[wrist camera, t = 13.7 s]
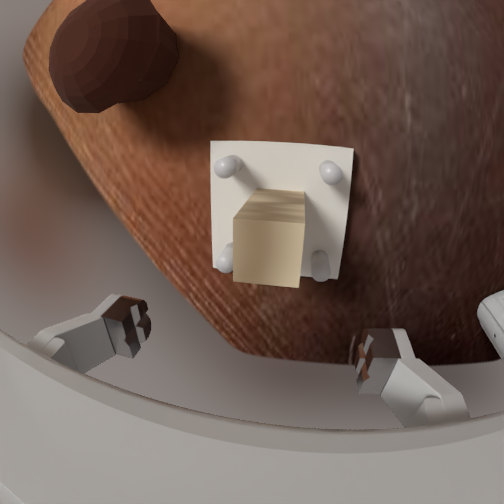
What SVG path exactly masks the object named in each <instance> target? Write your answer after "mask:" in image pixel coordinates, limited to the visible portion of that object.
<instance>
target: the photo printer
mask: <svg viewBox="0 0 504 504" xmlns="http://www.w3.org/2000/svg"><path fill="white" fill-rule="evenodd" d="M477 317H478V319H479V320H480V324H481V326H482V328H483V330H484V331H485V333H486V334H487V336H488V337H489V339H490V341H491V342H492V344H493V345H494V347H495V349H496V350H497V352H498V354H499V356H500V357H501V359H502V361H503V362H504V290H502V291H500V292H497V293H495V294H493V295H491V296H489V297H487V298H485V299H484V300H483V301H482V302H481V303H480V305H479V307H478V310H477Z"/></svg>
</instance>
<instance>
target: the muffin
mask: <svg viewBox="0 0 504 504" xmlns="http://www.w3.org/2000/svg"><path fill="white" fill-rule="evenodd" d="M178 59H179V55H178V51H177V47H176V34H175V33H174V32H173V30H172V29H171V28H170V26H169V25H168V24H167V23H166V21H165V20H164V19H163V18H162V17H161V15H160V14H159V13H158V12H157V10H156V9H155V7H154V6H153V4H152V3H151V1H150V0H86V1H85V2H84V3H82V4H81V5H79V6H78V7H77V8H75V9H74V10H73V11H71V12H70V13H69V15H68V16H67V17H66V19H65V20H64V21H63V23H62V24H61V25H60V27H59V28H58V30H57V31H56V34H55V36H54V39H53V42H52V45H51V47H50V55H49V73H50V76H51V78H52V81H53V84H54V87H55V89H56V91H57V93H58V94H59V96H60V98H61V100H62V101H63V102H64V103H66V104H67V105H68V106H70V107H71V108H72V109H73V110H75V111H76V112H77V113H100V112H102V111H104V110H106V109H107V108H109V107H111V106H113V105H115V104H117V103H123V102H130V101H137V100H144V99H146V98H147V97H148V96H149V95H150V94H151V93H153V92H154V91H155V90H157V89H158V88H160V87H162V86H163V85H165V84H167V82H168V79H169V77H170V74H171V72H172V69H173V68H174V66H175V64H176V63H177V61H178Z"/></svg>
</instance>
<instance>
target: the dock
mask: <svg viewBox="0 0 504 504" xmlns="http://www.w3.org/2000/svg"><path fill="white" fill-rule="evenodd" d="M353 150H354V149H352V148H345V147H336V146H327V145H316V144H303V143H288V142H268V141H211V218H212V250H213V268H218V270H219V271H221V272H223V273H229V272H231V271H232V270H233V218H234V216H235V215H236V214H237V213H238V211H239V210H240V209H241V207H242V206H243V205H244V204H245V202H246V201H247V200H248V199H249V197H250V196H251V195H252V194H253V192H254V191H255V190H256V189H257V188H261V189H277V190H290V191H303V192H304V204H305V231H304V242H303V252H302V262H301V271H300V276H306V277H313V279H314V280H316V281H318V282H324V281H326V280H328V279H329V278H330V279H338V275H339V269H340V263H341V256H342V250H343V243H344V236H345V229H346V221H347V213H348V204H349V195H350V186H351V175H352V163H353Z"/></svg>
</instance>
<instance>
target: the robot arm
mask: <svg viewBox="0 0 504 504" xmlns="http://www.w3.org/2000/svg"><path fill="white" fill-rule="evenodd" d="M147 310H148V307H147V303H146V302H145V301H144V300H141V299H137V298H132V297H127V296H123V295H119V294H111V295H110V296H108V297H107V298H106V299H105V300H104V301H103V302H102V303H101V304H100V305H99V306H98V307H97V308H96V309H95V310H94V311H93V312H92V313H91V314H89V313H87V314H84V315H81V316H79V317H76V318H73V319H70V320H68V321H65V322H62V323H59V324H57V325H54V326H51V327H48V328H45V329H43V330H41V331H40V332H39V333H38V334H37V335H36V336H35V337H34V338H33V339H32V340H31V341H30V342H29V343H28V344H27V345H25V344H23V343H22V342H19V341H18V340H16V339H15V338H13V337H11V336H10V335H8V334H7V333H5V332H3V331H2V330H0V504H504V411H501V412H497V413H494V414H489V415H485V416H481V417H476V418H472V419H470V416H469V413H468V410H467V407H466V404H465V401H464V398H463V396H462V394H461V393H460V392H459V391H458V390H457V389H455V388H454V387H453V386H452V385H450V384H449V383H448V382H447V381H446V380H445V379H443V378H442V377H441V376H440V375H439V374H437V373H436V372H435V371H434V370H432V369H431V368H430V367H429V366H428V365H426V364H425V363H424V362H423V361H421V360H420V359H416V358H415V355H414V352H413V350H412V347H411V344H410V341H409V339H408V336H407V333H406V331H405V330H404V329H378V328H365V329H364V330H363V333H362V336H361V338H362V344H360V345H359V346H358V349H357V352H356V358H355V369H356V371H357V373H358V374H359V375H358V378H357V388H358V394H372V395H374V394H375V395H380V396H381V397H382V399H383V400H384V401H385V403H386V404H387V405H388V407H389V408H390V409H391V410H392V412H393V413H394V414H395V415H396V417H397V418H398V419H399V421H400V422H401V423H402V425H403V426H404V427H405V428H396V429H371V430H339V429H316V428H301V427H290V426H281V425H272V424H265V423H258V422H251V421H245V420H239V419H233V418H227V417H222V416H217V415H213V414H208V413H204V412H199V411H195V410H191V409H187V408H183V407H179V406H176V405H172V404H168V403H164V402H161V401H158V400H154V399H151V398H148V397H145V396H142V395H139V394H136V393H133V392H130V391H127V390H124V389H121V388H119V387H116V386H113V385H111V384H108V383H105V382H103V381H100V380H98V379H95V378H93V377H91V376H88V375H86V374H84V373H86V372H87V371H89V370H91V369H92V368H94V367H96V366H97V365H99V364H101V363H103V362H104V361H106V360H108V359H109V358H111V357H113V356H115V354H118V355H121V356H125V357H128V358H132V359H133V358H134V357H135V355H136V354H137V352H138V351H139V350H140V348H141V346H140V343H142V342H144V341H146V340H147V338H148V337H149V334H150V331H151V321H150V318H149V317H148V316H147V314H146V312H147Z"/></svg>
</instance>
